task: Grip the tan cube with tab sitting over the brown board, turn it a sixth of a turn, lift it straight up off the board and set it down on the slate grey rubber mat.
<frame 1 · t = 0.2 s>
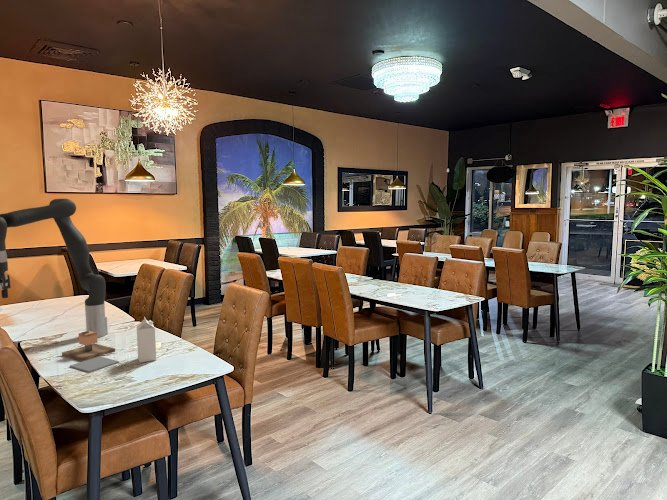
mat: (94, 364, 201), on the table
brown board: (88, 353, 216), on the table
milk carton: (147, 359, 208), on the table
tan cube with tab: (88, 343, 216), point 5 cm above the table, touching brown board
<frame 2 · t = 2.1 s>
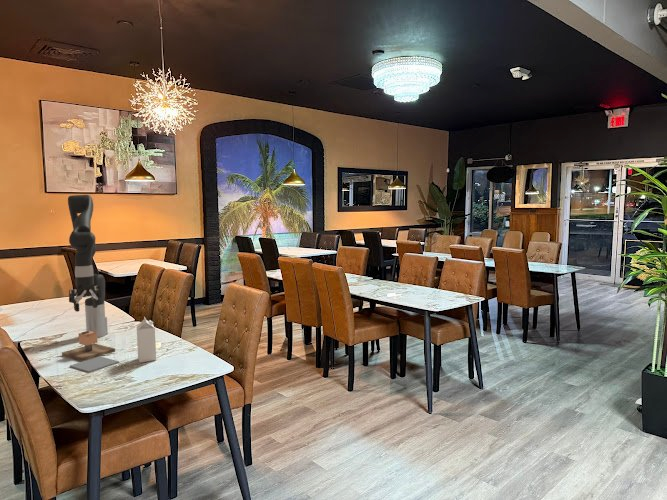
hand: (86, 309, 214), 21 cm above the table, tool pointing down, fingers open, 8 cm apart
nothing on the table moved.
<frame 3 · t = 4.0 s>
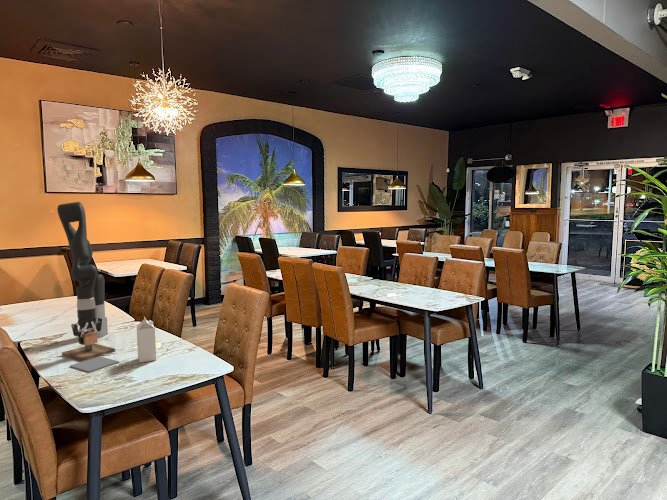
hand: (88, 342, 216), 5 cm above the table, tool pointing down, fingers closed on tan cube with tab, 5 cm apart
tan cube with tab: (88, 343, 216), point 5 cm above the table, touching gripper, brown board
everything else where it was.
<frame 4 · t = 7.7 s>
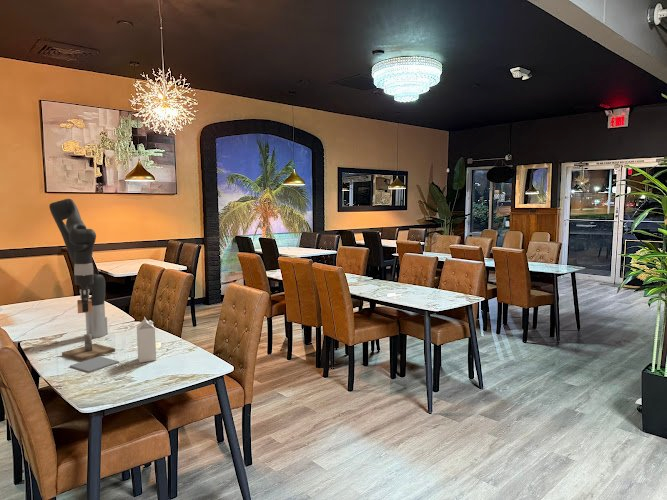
hand: (85, 310, 206), 22 cm above the table, tool pointing down, fingers closed on tan cube with tab, 5 cm apart
tan cube with tab: (85, 311, 206), point 22 cm above the table, touching gripper
everything else where it was.
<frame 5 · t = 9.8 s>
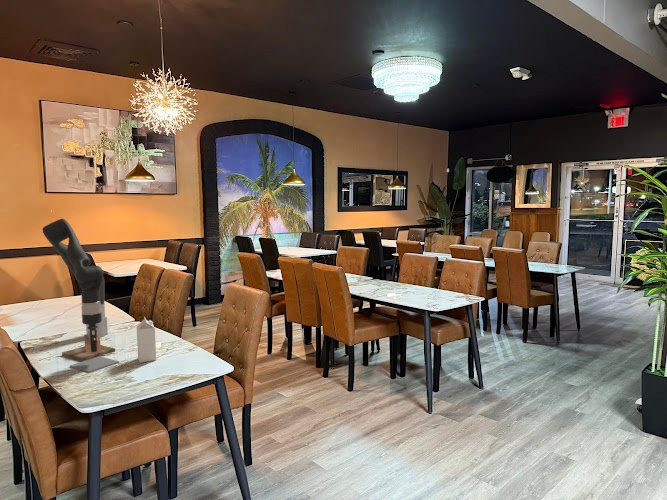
hand: (93, 349, 200), 7 cm above the table, tool pointing down, fingers closed on tan cube with tab, 5 cm apart
tan cube with tab: (93, 350, 200), point 6 cm above the table, touching gripper
everything else where it was.
when the fingers open (2 cm above the table, at t = 11.4 s): tan cube with tab drops 1 cm, resting on mat.
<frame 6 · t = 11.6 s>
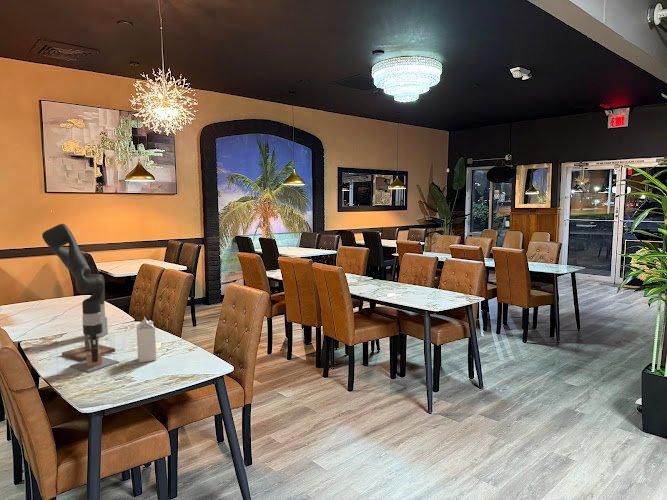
hand: (94, 359, 201), 2 cm above the table, tool pointing down, fingers open, 7 cm apart
tan cube with tab: (94, 363, 201), point 1 cm above the table, touching mat
everything else where it was.
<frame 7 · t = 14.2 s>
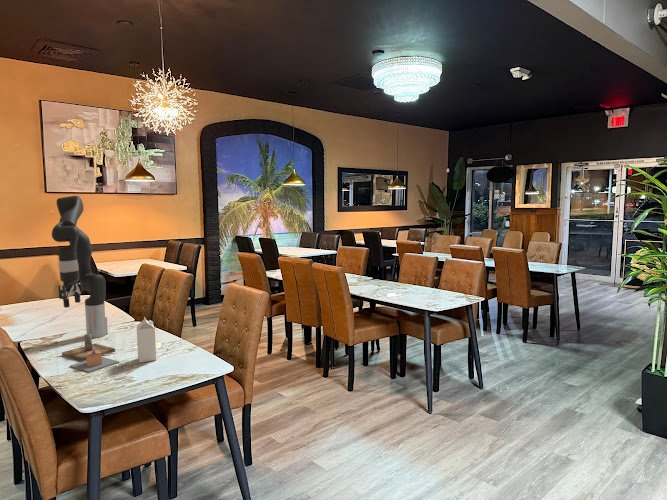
hand: (72, 304, 209), 24 cm above the table, tool pointing down, fingers open, 8 cm apart
nothing on the table moved.
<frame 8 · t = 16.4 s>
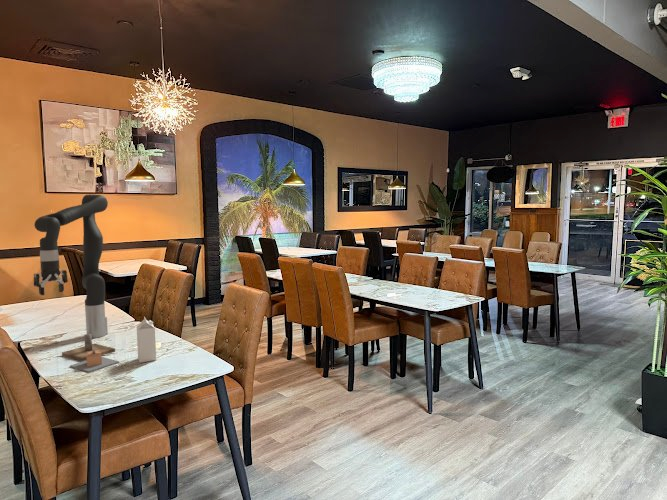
hand: (51, 293, 217), 28 cm above the table, tool pointing down, fingers open, 8 cm apart
nothing on the table moved.
at the end: tan cube with tab inside the target area on the mat (0.1 cm from its centre), point 0.6 cm above the mat's base; tan cube with tab tilted 0°; the gripper is holding nothing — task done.
